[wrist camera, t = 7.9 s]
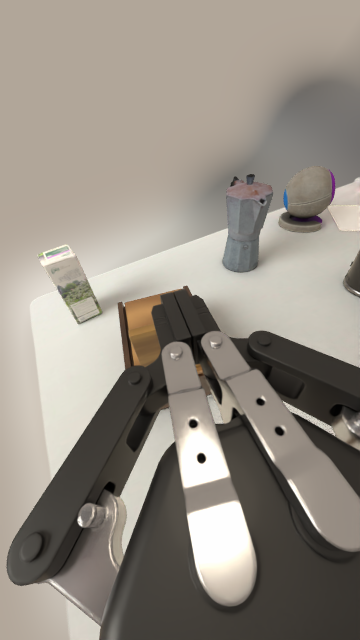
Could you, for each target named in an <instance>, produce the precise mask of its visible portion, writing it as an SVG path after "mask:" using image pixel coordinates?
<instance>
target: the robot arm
mask: <svg viewBox="0 0 360 640" xmlns="http://www.w3.org/2000/svg"><path fill="white" fill-rule="evenodd" d="M350 266H351V268H350V270H349V271H348V273H347V275H346V276H345V278H344V281H343V284H344V286H345V288H346V289H347V290H348V291H350V292H351V293H353V294H354V295H356V296H358V297H360V250H359V252H358V254H357V256H356V258H355V260H354V261H353V262H352V263H351V265H350ZM160 300H161V304H159V305H155V306H153V308H152V311H151V315H152V318H153V322H154V326H155V330H156V334H157V337H158V341H159V345H160V348H161V351H160V354H159V356H158V358H157V359H156V360H155V361H154V362H153V363H151V364H150V365H148V366H146V367H144V366H141V365H135V366H131V367H129V368H127V369H126V370H125V371H124V372H123V373H122V374H121V376H120V377H119V379H118V380H117V382H116V383H115V385H114V386H113V388H112V390H111V391H110V393H109V394H108V396H107V397H106V399H105V400H104V402H103V403H102V405H101V406H100V408H99V409H98V411H97V412H96V414H95V415H94V417H93V418H92V420H91V422H90V423H89V425H88V426H87V428H86V429H85V431H84V432H83V434H82V435H81V437H80V438H79V440H78V441H77V443H76V444H75V446H74V447H73V449H72V451H71V452H70V454H69V455H68V457H67V458H66V460H65V461H64V463H63V464H62V466H61V467H60V469H59V470H58V472H57V473H56V475H55V476H54V478H53V479H52V481H51V483H50V484H49V486H48V487H47V489H46V490H45V492H44V493H43V495H42V496H41V498H40V499H39V501H38V502H37V504H36V505H35V507H34V508H33V510H32V512H31V513H30V515H29V516H28V518H27V519H26V521H25V522H24V524H23V525H22V527H21V528H20V530H19V531H18V533H17V535H16V536H15V538H14V540H13V542H12V544H11V546H10V549H9V552H8V556H7V573H8V576H9V578H10V580H11V581H12V582H13V583H14V584H16V585H20V586H23V585H29V584H33V583H38V584H40V583H49V584H50V585H51V586H53V587H54V588H55V589H56V590H58V591H59V592H60V593H61V594H62V595H63V596H65V597H66V598H67V599H68V600H69V601H71V602H72V603H73V604H74V605H76V606H77V607H78V608H79V609H80V610H82V611H83V612H84V613H85V614H86V615H88V616H89V617H90V618H91V619H92V620H94V621H95V622H96V623H97V624H98V625H100V626H101V629H100V637H99V640H360V368H359V367H356V366H354V365H351V364H349V363H346V362H343V361H341V360H338V359H336V358H333V357H331V356H328V355H326V354H323V353H321V352H318V351H316V350H313V349H311V348H308V347H306V346H303V345H300V344H298V343H295V342H293V341H290V340H288V339H285V338H283V337H280V336H278V335H275V334H273V333H270V332H267V331H256V332H254V333H252V334H251V335H250V336H249V338H247V339H237V338H231V337H228V336H227V335H226V334H225V333H223V332H221V331H220V329H219V327H218V326H217V324H216V322H215V320H214V319H213V317H212V315H211V313H210V312H209V310H208V308H207V307H206V304H205V303H204V301H203V299H201V298H200V297H198V296H197V295H194V296H189V294H188V292H187V290H186V289H181V290H177V291H173V293H172V292H169V293H165V294H161V295H160ZM197 364H200V365H201V367H202V372H203V377H204V379H205V381H206V383H207V385H208V387H209V389H210V391H211V393H212V395H213V397H214V399H215V401H216V403H217V405H218V407H219V410H220V413H221V417H222V420H223V423H224V424H215V423H214V420H213V416H212V413H211V410H210V406H209V403H208V400H207V396H206V393H205V390H204V388H203V387H202V385H201V382H200V379H199V376H198V372H197V369H196V365H197ZM283 401H284V402H286V403H288V404H290V405H292V406H294V407H296V408H297V409H299V410H301V411H303V412H305V413H307V414H309V415H311V416H313V417H315V418H316V419H318V420H320V421H322V422H324V423H326V424H328V425H330V426H332V428H333V431H334V433H335V436H336V437H335V436H334V435H332V434H330V433H328V432H327V431H325V430H323V429H321V428H320V427H318V426H316V425H314V424H313V423H311V422H309V421H307V420H306V419H304V418H302V417H300V416H299V415H296V414H294V413H292V412H290V411H289V410H288V408H287V407H286V406H285V404H284V403H283ZM168 402H169V407H170V413H171V419H172V425H173V431H174V437H175V442H174V443H173V444H172V445H171V446H170V447H169V448H168V449H167V450H166V451H165V453H164V454H163V456H162V458H161V460H160V462H159V464H158V466H157V469H156V471H155V474H154V477H153V479H152V482H151V485H150V487H149V490H148V493H147V496H146V498H145V501H144V504H143V506H142V509H141V512H140V514H139V517H138V520H137V522H136V525H135V528H134V530H133V533H132V536H131V539H130V541H129V544H128V547H127V549H126V552H125V555H123V551H122V534H123V530H124V527H125V524H126V518H127V512H126V506H125V504H124V502H123V500H122V499H121V498H120V495H121V493H122V491H123V488H124V486H125V484H126V482H127V480H128V478H129V476H130V473H131V471H132V469H133V467H134V465H135V463H136V461H137V459H138V456H139V454H140V452H141V450H142V448H143V446H144V444H145V441H146V439H147V437H148V435H149V433H150V431H151V429H152V427H153V424H154V422H155V420H156V418H157V416H158V414H159V412H160V409H161V407H163V406H164V405H166V404H167V403H168Z"/></svg>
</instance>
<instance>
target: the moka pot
mask: <svg viewBox="0 0 360 640" xmlns="http://www.w3.org/2000/svg"><path fill="white" fill-rule="evenodd" d="M254 177H255V175H253V174H250V175H247V183H244V182H243V181H242V180H239V179H238V178H237V177H234V180H233V182H232V183H231V186H230V187H229V188H227V216H228V234H229V235H228V238H227V243H226V248H225V252H224V257H223V264H224V266H225V267H226V268H227V269H229V270H231V271H234V272H247V271H250V270H252V269H254V268H255V267H256V266H257V264H258V251H259V235H260V230H261V229H262V228H263V225H264V222H265V218H266V215H267V212H268V208H269V206H270V202H271V200H272V196H273V190H272V187H271V186H270V185H267V184H262V183H258V182H253V180H254Z"/></svg>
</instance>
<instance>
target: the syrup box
mask: <svg viewBox="0 0 360 640" xmlns="http://www.w3.org/2000/svg"><path fill="white" fill-rule="evenodd" d="M38 257H39V260H40V262H41V264H42V266H43V268H44V270H45V271H46V273H47V274H48V276H49V278H50V279H51V281H52V282H53V284H54V286H55V288H56V289H57V291H58V292H59V294H60V296H61V297H62V299H63V301H64V302H65V304H66V306H67V307H68V309H69V311H70V312H71V314H72V315H73V317H74V319H75V320H76V322H77V324H80V323H82V322H84V321H86V320H88V319H90V318H92V317H94V316H97V315H99V314H101V313H102V310H101V308H100V306H99V304H98V302H97V299H96V297H95V295H94V293H93V291H92V289H91V287H90V284H89V282H88V280H87V278H86V276H85V274H84V271H83V269H82V267H81V265H80V263H79V260H78V258H77V256H76V255H75V254H74V252H73V251H72V250H71V248H70V247H69V246H68V245H67V244H66V245H64V246H61V247H58V248H55V249H52V250H49V251H46V252H44V253H41V254H38Z"/></svg>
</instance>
